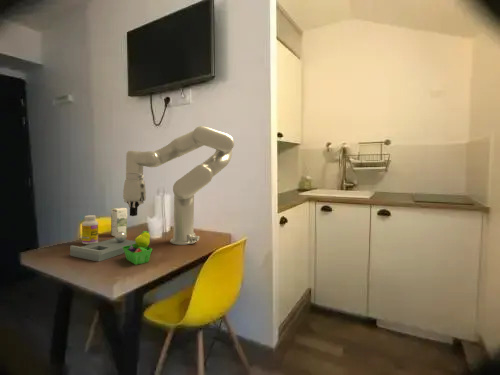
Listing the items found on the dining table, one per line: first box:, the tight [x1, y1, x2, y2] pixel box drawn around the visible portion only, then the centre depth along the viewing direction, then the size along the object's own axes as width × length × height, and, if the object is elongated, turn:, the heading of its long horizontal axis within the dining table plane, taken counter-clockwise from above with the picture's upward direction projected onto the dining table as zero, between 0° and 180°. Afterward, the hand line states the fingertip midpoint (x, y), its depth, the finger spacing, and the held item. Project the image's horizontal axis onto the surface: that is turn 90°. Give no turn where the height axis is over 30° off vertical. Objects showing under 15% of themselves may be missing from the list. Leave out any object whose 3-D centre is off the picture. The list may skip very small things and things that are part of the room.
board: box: [69, 237, 136, 262], centre depth 122 cm, size 16×22×4 cm
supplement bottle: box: [81, 214, 99, 245], centre depth 134 cm, size 7×7×13 cm
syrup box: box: [110, 207, 128, 237], centre depth 149 cm, size 6×6×14 cm
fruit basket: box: [123, 230, 153, 266], centre depth 111 cm, size 11×9×11 cm
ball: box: [114, 231, 127, 242], centre depth 128 cm, size 5×5×5 cm
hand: (133, 215), depth 135 cm, fingers closed
